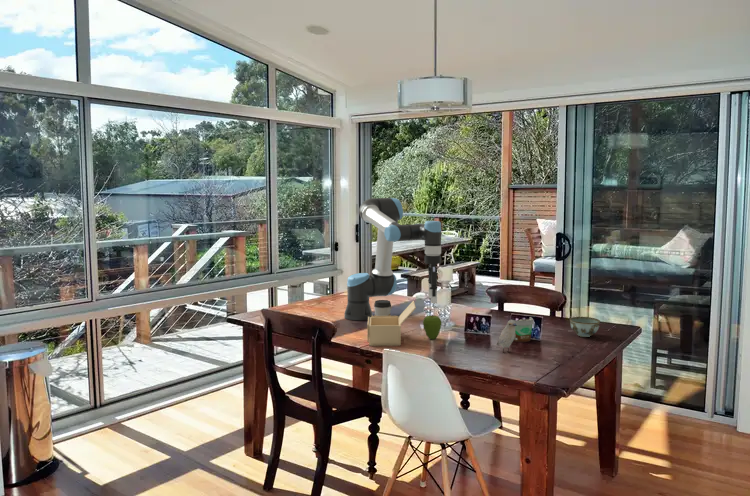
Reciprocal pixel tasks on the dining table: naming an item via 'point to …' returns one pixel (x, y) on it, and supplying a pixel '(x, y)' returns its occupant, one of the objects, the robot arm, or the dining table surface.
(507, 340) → the bird
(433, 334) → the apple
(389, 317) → the carton
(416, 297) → the dining table surface
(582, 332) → the bowl
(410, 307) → the flap
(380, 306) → the coffee cup
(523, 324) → the food container
